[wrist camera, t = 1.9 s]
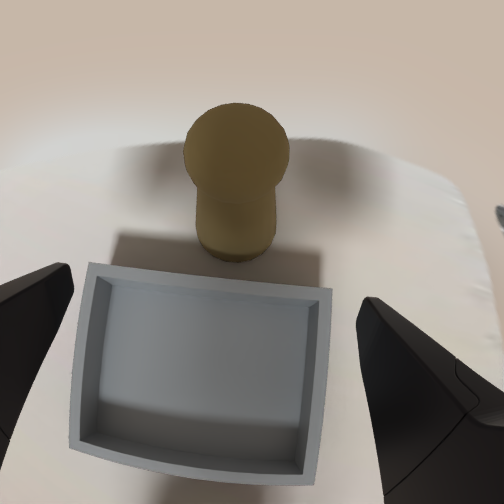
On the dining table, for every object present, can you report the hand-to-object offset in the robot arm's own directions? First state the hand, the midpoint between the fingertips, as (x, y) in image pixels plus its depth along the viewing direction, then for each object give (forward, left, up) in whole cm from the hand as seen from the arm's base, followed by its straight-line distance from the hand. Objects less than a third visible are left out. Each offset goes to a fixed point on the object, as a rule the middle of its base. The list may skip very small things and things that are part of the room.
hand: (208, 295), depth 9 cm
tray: (-4, -1, -13) cm, 14 cm away
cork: (+7, +4, -14) cm, 16 cm away
